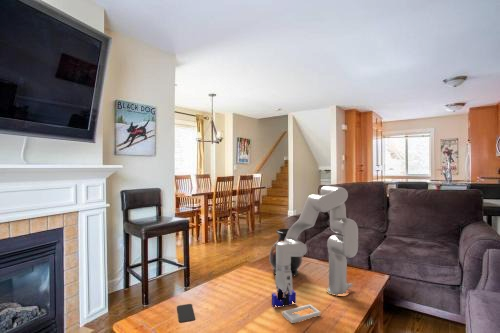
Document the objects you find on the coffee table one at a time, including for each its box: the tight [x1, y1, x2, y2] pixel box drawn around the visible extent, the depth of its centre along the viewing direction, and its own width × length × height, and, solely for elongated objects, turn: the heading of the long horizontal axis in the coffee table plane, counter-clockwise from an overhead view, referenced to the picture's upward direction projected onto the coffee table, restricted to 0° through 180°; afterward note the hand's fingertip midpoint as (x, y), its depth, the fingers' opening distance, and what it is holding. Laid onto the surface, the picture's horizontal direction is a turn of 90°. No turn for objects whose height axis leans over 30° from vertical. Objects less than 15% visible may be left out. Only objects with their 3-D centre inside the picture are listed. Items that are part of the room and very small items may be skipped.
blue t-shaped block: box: [271, 289, 297, 308], centre depth 142 cm, size 12×4×6 cm, turn 110°
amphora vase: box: [268, 228, 303, 277], centre depth 183 cm, size 22×22×28 cm
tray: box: [281, 303, 322, 324], centre depth 131 cm, size 16×8×2 cm, turn 115°
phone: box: [176, 303, 196, 324], centre depth 133 cm, size 7×1×15 cm
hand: (283, 302), depth 142 cm, fingers closed on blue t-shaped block, 4 cm apart
